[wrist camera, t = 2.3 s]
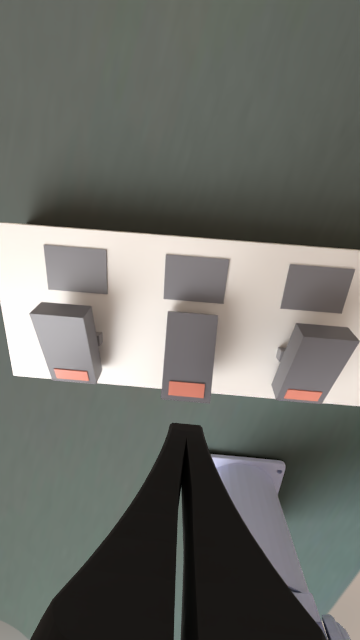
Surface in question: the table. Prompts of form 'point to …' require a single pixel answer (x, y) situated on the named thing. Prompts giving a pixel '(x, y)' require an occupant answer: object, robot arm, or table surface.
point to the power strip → (178, 300)
